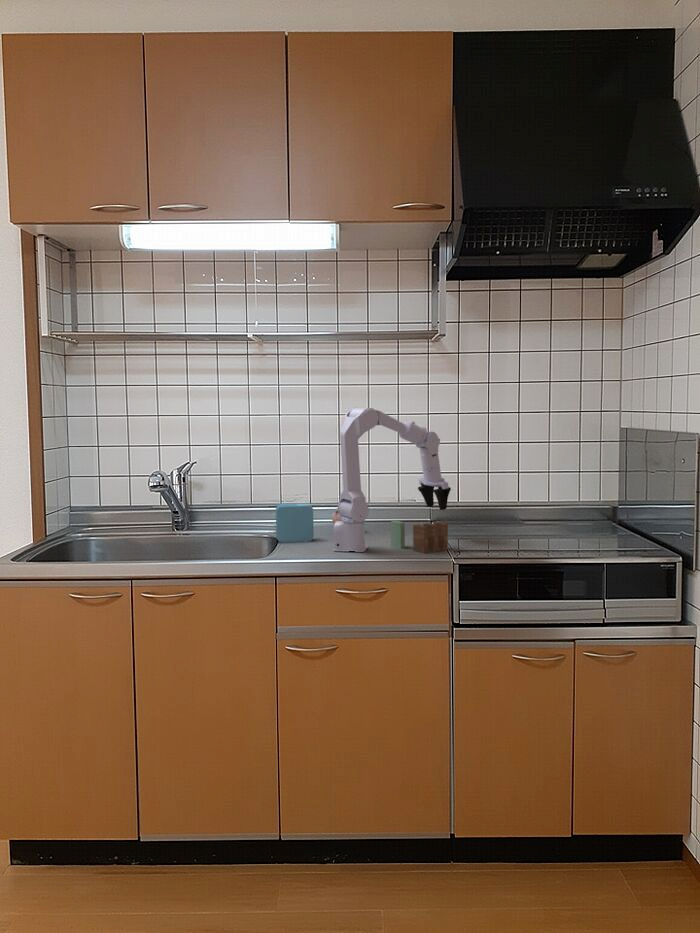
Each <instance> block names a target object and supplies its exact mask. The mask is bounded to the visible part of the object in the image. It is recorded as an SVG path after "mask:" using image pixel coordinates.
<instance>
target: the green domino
mask: <svg viewBox="0 0 700 933" xmlns="http://www.w3.org/2000/svg"><path fill="white" fill-rule="evenodd" d="M405 527H406V524H405V522H403V521H399V520H391V521H390V546H391V547H393V546H394V547H393V548H397V547H398V548H397V549H400V548H401V549H405V547H406V545H405V538H406V535H405V533H406V532H405V530H406V528H405Z"/></svg>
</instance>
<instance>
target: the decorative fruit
mask: <svg viewBox="0 0 700 933" xmlns="http://www.w3.org/2000/svg"><path fill="white" fill-rule="evenodd" d="M336 521H342V520H341V516H340V515H339V513H338V507H337V508H336V509H335V510H334V512H333V513H332V516H331V522H332V524H333V525H335V522H336Z"/></svg>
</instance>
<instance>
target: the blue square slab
mask: <svg viewBox="0 0 700 933" xmlns="http://www.w3.org/2000/svg"><path fill="white" fill-rule="evenodd" d="M275 532H276V539H277V541H278V542H279V543H301V542H305V541H307V542H312V541H313V540H314V536H315V535H314V508H313V507H312V505H311V504H310V503H290V504H289V503H287V504H284V503H282V504H278V505H277V506H276V507H275ZM305 543H306V542H305Z"/></svg>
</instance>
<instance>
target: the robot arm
mask: <svg viewBox="0 0 700 933" xmlns="http://www.w3.org/2000/svg"><path fill="white" fill-rule="evenodd" d="M376 426H382V427H384V428H387V429H390V430H392V431H394V432H396V433H398V436H399V438H400V439H402V440H405V441H407V442H409V443H411V444H413V445H415V447H417V449H418V448H419V455H420V462H421V466H422V468H421V469H422V474H423V476H422V478H418V485H419V486H418V487H417V490H418V491H419V492H420V494H421V496H422V497H423V499H424V502H425V505H426V507H427V508H430V507H434V506H435V505H434V504H435V502H434V499H435V498H434V496H435V497H436V499H437V504H438V508H439V510H440V511H443V510H444V511H445V510H447V506H448V499H449V495H450V492H451V490H452V489H451V487H450V486H449V482H448V481H445V478H444V477H442V473H441V464H440V459H439V446H440V444H441V438H439V436H438V434H437V433H436V432H435V431H429V430H427V428H426V427H424V426H423V427H422V426H419V425H417V424H416V422H415V421H413V420H410V421H404V422H401V421H400V420H398V419H396V418H394V417H393V416H390V415H388V414H387V413H385V412H382V411H381V410H378V409H375V408H372V407H367V408H365V407H353V408H351V409H349V410H348V411H347V413H345V415H344V422H343V425H342V428H341V430H340V432H339V433H340V434H339V438H340V439H339V440H340V454H341V455H340V456H341V472H342V487H343V490H342V492H341V493H340V495H339V501H338V505H337V508H338V513H339V515H340V516H341V520H342V521H336V522H335V525H334V524H333V525H334V526H333V551H334V552H349V551H355V552H356V553H364V552H365V551H366V550H367V549H368V548H369V546H368V545H366V520H367V518H368V516H369V513H370V510H369V509H370V508H369V506H368V504H367V501H366V495H364V492H363V491H362V485H361V482H362V481H361V470H360V469H361V466H360V450H359V439H360V438H361V437H362V436H363V435H364V434H365V433H366V432H369V431H370V430H373V429H374V428H376Z"/></svg>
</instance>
